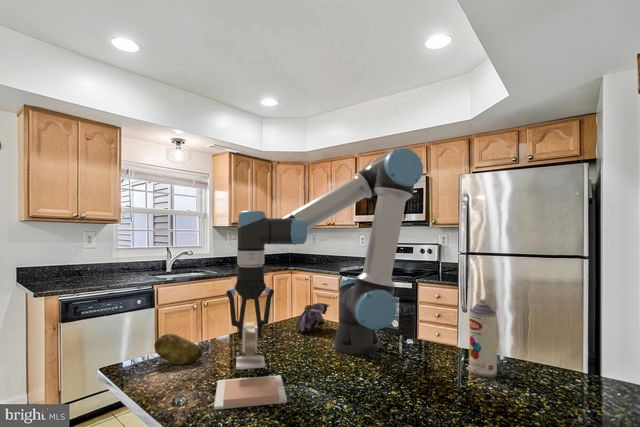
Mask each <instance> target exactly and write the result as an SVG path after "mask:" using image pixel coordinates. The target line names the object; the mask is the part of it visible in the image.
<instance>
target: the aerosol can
mask: <svg viewBox="0 0 640 427" xmlns="http://www.w3.org/2000/svg"><path fill="white" fill-rule="evenodd" d="M468 314H469V318H468V320H469V371H470V373H471V374H473V375H474V376H477V377H483V378H495V377H496V376H497V375H498V365H497V364H498V362H497V361H498V357H497V356H498V355H497V352H498V351H497V350H498V348H497V346H498V344H497V343H498V342H497V339H498V338H497V314H496V311H495V310H494V309H493V308H492V306H490V305H489V304H488V303H487V300H486V299H485V298H479V299H478V302H477V303H476V304H475V305H474V306H473V307H471V308H470V309H469V313H468Z"/></svg>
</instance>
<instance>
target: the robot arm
mask: <svg viewBox="0 0 640 427" xmlns="http://www.w3.org/2000/svg"><path fill="white" fill-rule="evenodd" d="M423 174H424V165H423V162H422V159H421V158H420V155H419V154H417V153H416V152H415V151H414V150H412V149H410V148H408V147H407V148H406V147H399V148H394V149H392V150H390V151H388V152H387V153H385V154H384V155H382V156H379V157H378V158H376V159H375V160H374V161H372V162H371V163H369V164H368V165H367V166H366V167H363V169H361V170H359V171H357V172H356V173H355V174H354V176H353V178H351V179H349V180H348V181H346V182H344V183H342V184H340V185H339V186H337V187H335V188H333V189H331V190H330V191H328V192H326V193H324V194H322V195H321V196H319V197H317V198H315V199H313V200H311V201H310V202H308V203H306V204H305V205H302V206H301V207H299V208H297V209H295V210H294V211H291V212H290V213H288V214H286V215H284V216H283V217H281V218H273V217H272V218H270V217H266V214H265V211H262V210H241V211H240V212H239V213H238V217H237V255H236V257H237V258H236V259H237V260H236V262H237V263H236V264H237V265H238V266H237V267H236V283H235V285H234V287H232V288H228V289H226V291H225V292H226V296H227V297H228V300H229V311H230V321H231V326H232V327H237V339H238V340H239V341H240V340H242V341H241V342H242V344H241V348H242V349H241V352H242V353H244V354H245V325H244V320H245V314H246V313H245V312H246V306H247V302H248V301H249V300H253V301H254V309H255V316H256V317H255V318H256V319H255V320H256V324H254V327H255V353H256V352H258V339H262V336H263V334H262V331H263V330H262V327H263V326H266V325H268V324H269V320H270V313H271V312H270V311H271V310H270V309H271V303H272V298H273V296H274V293H275V290H274V288H273V287H270V286H267V284H266V282H265V267H264V266H263V265H264V264H265V250H266V248H265V245H294V246H296V245H303V244H305V243H306V242H307V239H308V230H311V228H313V227H315V226H317V225H318V224H320V223H322V222H324V221H325V220H327V219H329V218H331V217H333V216H334V215H337V214H338V213H340V212H341V211H343V210H345V209H348V208H349V207H350V206H353V205H354V204H356V203H357V202H359V201H361V200H363V199H364V198H365V199H366V198H367V199H371V198H373V197H374V196H376V195H377V199H376V204H375V208H374V214H373V220H372V225H371V230H370V234H369V239H368V245H367V249H366V254H365V259H364V264H363V270H362V273H360V274H359V275H357V276H356V277H348V278H347V277H346V278H345V277H343V278H341V279H340V280H339V286H338V291H339V294H338V295H339V296H338V298H339V301H338V302H339V306H338V307H339V308H338V310H339V311H338V313H339V314H338V316H339V319H338V326H337V329H336V332H335V335H334V339H333V348H334V349H335V350H337V351H338V352H341V353H344V354H349V355H369V354H375V353H376V352H377V351H379V350H380V339H379V336H378V333H377V330H382V329H384V328H386V327H387V326H389V325H390V324H391V323H393V320H395V317H396V315H397V310H398V309H397V302H396V300H395V297H394V293H395V288H396V287H395V286H396V285H395V283H394V281H393V280H392V277H393V276H392V275H393V270H394V266H395V265H394V264H395V259H396V256H397V255H396V254H397V249H398V243H399V239H400V233H401V228H402V224H403V218H404V212H405V209H406V208H405V207H406V202H407V201H408V200H410V199H411V198H413V194H414V187H415V185H416V184H417V183H418V182H419V181H420V180H421V178H422V177H423ZM264 291H265V292H264ZM263 292H264V293H265V295H266V298H265V306H264V312H263V319H262V317H261V316H262V315H261V306H260V299H259V298H260V296H262V294H263ZM236 293H238V295H239V296H240V298H241V304H240V311H239V317H238V320H237V317H236V316H237V315H236V306H235V296H236ZM247 300H248V301H247Z"/></svg>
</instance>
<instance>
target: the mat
mask: <svg viewBox="0 0 640 427" xmlns="http://www.w3.org/2000/svg"><path fill="white" fill-rule="evenodd" d="M266 377H275V381H276V385H277V390H278V394H279V402H270V403H259V404H249V405H238V406H228V407H223V399H224V389H225V381H229V380H241V379H254V378H266ZM284 386H285V385H284V383H283V380H282V376H281V375H280V374H278V375H265V376H264V375H263V376H254V377H240V378H230V379H229V378H228V379H218V380H217V384H216V390H215V391H216V392H215V395H214V396H215V397H214V403H213V411H214V410H215V411H216V410H224V409H235V408H244V407H245V408H246V407H255V406H256V407H257V406H263V405H265V406H266V405H267V406H268V405H276V404H277V405H278V404H285V403H288V399H287V395H286V391H285V387H284Z"/></svg>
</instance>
